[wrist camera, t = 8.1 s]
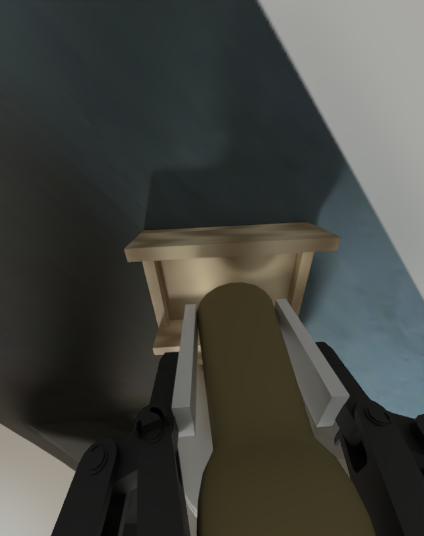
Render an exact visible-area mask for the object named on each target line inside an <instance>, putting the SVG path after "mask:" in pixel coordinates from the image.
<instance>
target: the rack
mask: <svg viewBox="0 0 424 536" xmlns="http://www.w3.org/2000/svg"><path fill="white" fill-rule="evenodd" d="M340 239H341V237H339V236H337V235H335V234H333V233H331V232H328V231H326V230H324V229H322V228H320V227H317V226H315V225H313V224H311V223H308V222H299V223H280V224H260V225H241V226H221V227H202V228H182V229H163V230H144V231H142V232H141V233H140V234H139V235H138V236H137V237H136V238H135V239H134V240H133V241H132V242H131V243H130V244H129V245H128V246H126V247H125V248H124V251H125V254H126V258H127V261H128V262H139V261H142V263H143V267H144V271H145V275H146V279H147V283H148V287H149V291H150V295H151V299H152V303H153V307H154V311H155V315H156V319H157V323H158V327H159V328H158V332H157V335H156V339H155V342H154V345H153V351H154V354H155V355H163V354H164V353H165V352H179V348H180V341H181V334H182V326H183V319H184V312H185V305H186V304H196V311H197V309H198V306H199V303H200V301H201V300H202V299H203V298H204V296H205V295H206V294H207V293H209V292H210V291H212V290H213V289H215V288H216V287H218V286H221V285H225V284H228V283H238V282H244V283H248V284H253V285H256V286H258V287H259V288H261V289H263V290H264V291H266V293H267V294H268V295H269V297H270V298H271V299H272V302H273V305H274V307H275V301H276V299H286V300H287V301H288V303H289V304H290V306H291V307H292V309H293V310H294V312H295V313H296V315H297V316H299V312H300V308H301V304H302V300H303V295H304V291H305V287H306V283H307V279H308V275H309V271H310V267H311V263H312V259H313V255H314V252H322V251H337V249H338V246H339V243H340ZM177 447H178V450H179V457H180V465H181V472H182V479H183V486H184V493H185V500H186V502H187V504H188V506H189V507H190V509H191V510H192V512H193V513H194V515H195V516H196V517H197V506H198V496H199V491H200V485H201V479H202V474H203V471H204V469H205V467H206V465H207V463H208V460H209V458H210V456H211V454H212V452H213V445H212V437H211V429H210V421H209V412H208V404H207V396H206V388H205V379H204V371H203V363H202V355H201V347H200V338H199V331H198V364H197V397H196V430H195V436H186V437H180V436H179V435H178V445H177Z"/></svg>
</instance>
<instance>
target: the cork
mask: <svg viewBox="0 0 424 536" xmlns="http://www.w3.org/2000/svg"><path fill="white" fill-rule="evenodd" d="M197 322H198V330H199V338H200V347H201V355H202V363H203V371H204V379H205V388H206V396H207V404H208V412H209V421H210V429H211V437H212V445H213V452H212V454H211V456H210V458H209V460H208V463H207V465H206V467H205V469H204V471H203V474H202V479H201V485H200V491H199V496H198V506H197V536H376V534H375V531H374V528H373V525H372V522H371V519H370V516H369V514H368V512H367V510H366V508H365V506H364V504H363V502H362V500H361V498H360V496H359V494H358V492H357V490H356V488H355V486H354V484H353V482H352V481H351V479H350V478H349V476H348V475H347V473H346V472H345V470H344V469H343V467H342V466H341V464H340V463H339V461H338V460H337V458H336V457H335V456H334V455H333V454H332V453H330V452H329V451H328V450H327V449H326V448H325V447H324V446H323V445H322V444H321V443H320V442H319V441H318V440H317V439H316V438H315V437H314V435H313V431H312V428H311V425H310V422H309V418H308V415H307V412H306V409H305V406H304V402H303V399H302V396H301V393H300V389H299V386H298V383H297V380H296V376H295V373H294V370H293V367H292V364H291V360H290V357H289V354H288V351H287V347H286V344H285V341H284V338H283V334H282V331H281V328H280V325H279V322H278V318H277V315H276V312H275V309H274V305H273V302H272V299H271V298H270V297H269V295H268V294H267V293H266V291H264V290H263V289H261V288H259V287H258V286H256V285H253V284H248V283H244V282H238V283H228V284H225V285H221V286H218V287H216V288H215V289H213V290H212V291H210V292H209V293H207V294H206V295H205V296H204V298H203V299H202V300H201V301H200V303H199V306H198V309H197Z"/></svg>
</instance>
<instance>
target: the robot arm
mask: <svg viewBox="0 0 424 536" xmlns="http://www.w3.org/2000/svg"><path fill="white" fill-rule="evenodd" d="M274 309H275V312H276V315H277V318H278V322H279V325H280V328H281V331H282V334H283V338H284V341H285V344H286V347H287V351H288V354H289V357H290V360H291V364H292V367H293V370H294V373H295V376H296V380H297V383H298V386H299V389H300V391H301V393H302V395H303V398H304V400H305V402H306V404H307V406H308V409H309V411H310V413H311V415H312V418H313V420H314V422H315V424H316V427H324V426H332V425H333V423H334V422H335V420H336V422H337V424H338V426H339V428H340V429H339V431H338V432H337V434H336V436H335V438H334V442H335V445H338V444H339V442H341V447H342V449H343V453H344V456H345V460H346V464H347V467H348V471H349V474H350V478H351V481H352V482H353V484H354V486H355V488H356V490H357V492H358V494H359V496H360V498H361V500H362V502H363V504H364V506H365V508H366V510H367V512H368V514H369V516H370V519H371V522H372V525H373V528H374V531H375V534H376V536H424V414H422V415H418V416H417V417H416V418H415V419H413V418H409V417H405V416H402V415H398V414H394V413H391V412H389V411H387V410H386V409H385V408H384V407H382V406H381V405H379V404H378V403H376V402H374V401H372V400H371V399H370V398H369V397H368V396H367V395H366V394H365V392H364V391H363V390H362V388H361V387H360V386H359V384H358V383H357V381H356V380H355V379H354V377H353V376H352V375H351V373H350V372H349V371H348V369H347V368H346V367H345V366H344V364H343V362H342V361H341V360H340V359H339V357H338V356H337V354H336V353H335V352H334V350H333V349H332V348H331V347H329V346H328V345H327V344H326V343H325V342H314V341H313V339H312V338H311V336H310V334H309V333H308V331H307V330H306V328H305V327H304V325H303V324H302V322H301V321H300V319H299V318H298V316H297V315H296V313H295V312H294V310H293V309H292V307H291V306H290V304H289V303H288V301H287V300H286V299H276V301H275V307H274ZM198 331H199V330H198V322H197V311H196V304H186V305H185V312H184V319H183V326H182V334H181V341H180V348H179V352H165V353H164V355H163V356H162V358H161V359H160V362H159V366H158V371H157V374H156V380H155V383H154V387H153V392H152V396H151V400H150V404H149V405H148V406H147V407H145V408H143V409H142V411H141V412H140V413H139V414H138V415H137V417H136V419H135V421H134V425H133V431H132V432H130V433H128V434H126V435H124V436H122V437H120V438H117V439H115V440H112V439H111V438H102V439H100V440H97V441H96V442H95V443H94V444H92V445H91V446H90V447H89V448H88V450H87V451H86V452H85V453H84V455H83V457H82V459H81V461H80V462H79V465H78V467H77V470H76V473H75V475H74V478H73V480H72V483H71V486H70V488H69V491H68V493H67V496H66V498H65V501H64V504H63V506H62V509H61V511H60V514H59V517H58V519H57V522H56V524H55V527H54V529H53V532H52V535H51V536H190V529H189V522H188V515H187V508H186V500H185V493H184V486H183V479H182V472H181V465H180V457H179V450H178V447H177V445H178V435H179V436H180V437H186V436H195V430H196V397H197V364H198Z"/></svg>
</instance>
